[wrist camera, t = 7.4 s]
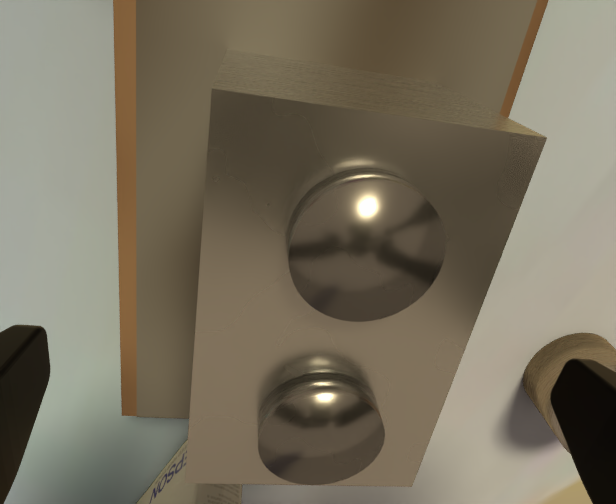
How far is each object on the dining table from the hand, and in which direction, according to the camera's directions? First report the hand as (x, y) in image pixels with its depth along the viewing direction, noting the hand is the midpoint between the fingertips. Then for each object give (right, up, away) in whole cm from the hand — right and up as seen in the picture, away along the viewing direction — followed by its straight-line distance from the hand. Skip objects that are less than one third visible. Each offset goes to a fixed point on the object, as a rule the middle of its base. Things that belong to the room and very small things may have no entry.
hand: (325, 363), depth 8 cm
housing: (0, +3, +5) cm, 6 cm away
